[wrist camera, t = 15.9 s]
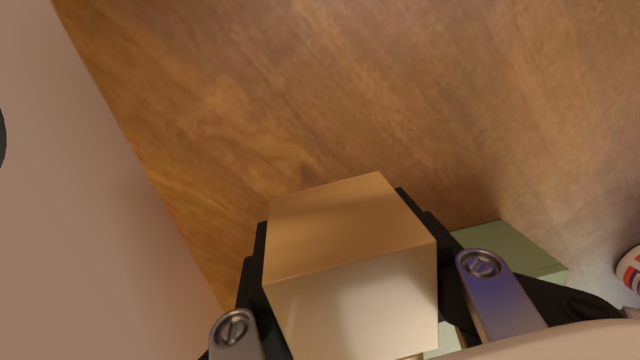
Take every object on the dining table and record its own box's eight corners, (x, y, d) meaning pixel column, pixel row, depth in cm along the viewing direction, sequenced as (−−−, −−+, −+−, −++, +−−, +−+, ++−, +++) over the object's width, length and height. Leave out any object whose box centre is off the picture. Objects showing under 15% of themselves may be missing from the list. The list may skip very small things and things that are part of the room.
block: (297, 278, 13) (304, 384, 9) (269, 197, 11) (260, 285, 7) (389, 255, 13) (439, 348, 9) (379, 170, 11) (437, 240, 7)
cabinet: (394, 310, 38) (423, 376, 30) (388, 247, 33) (421, 306, 25) (493, 285, 38) (547, 344, 30) (502, 219, 33) (569, 269, 25)
